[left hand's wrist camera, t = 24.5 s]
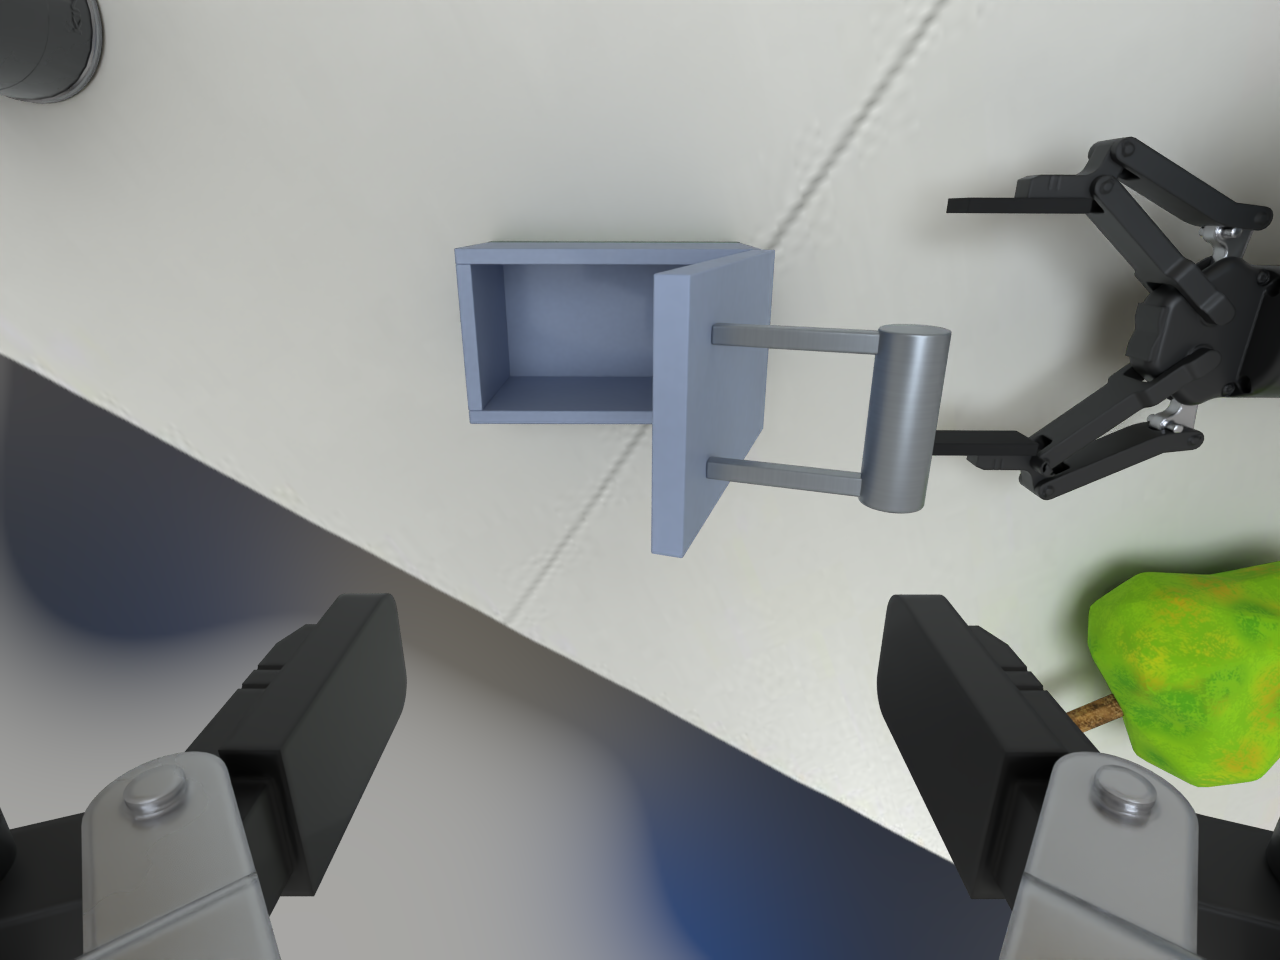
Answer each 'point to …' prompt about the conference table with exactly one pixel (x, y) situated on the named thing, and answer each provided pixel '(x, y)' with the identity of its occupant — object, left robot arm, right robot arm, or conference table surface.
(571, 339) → the chest
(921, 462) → the lid
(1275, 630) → the decorative tree
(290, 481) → the conference table surface
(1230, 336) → the right robot arm
